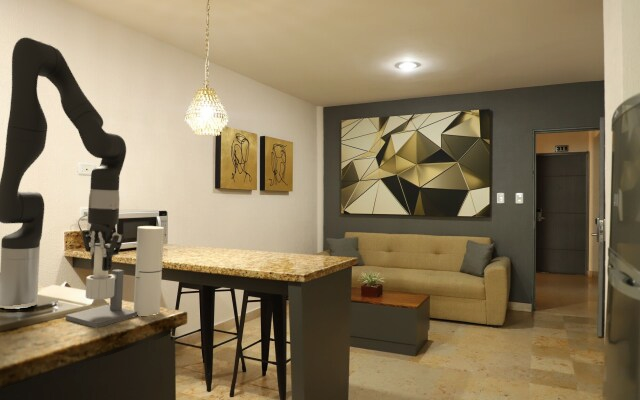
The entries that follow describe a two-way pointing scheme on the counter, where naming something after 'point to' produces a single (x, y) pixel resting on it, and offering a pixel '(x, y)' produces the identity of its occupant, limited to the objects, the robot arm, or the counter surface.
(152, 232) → the cylindrical container
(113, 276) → the cup bracket
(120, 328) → the counter surface
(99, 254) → the dowel
